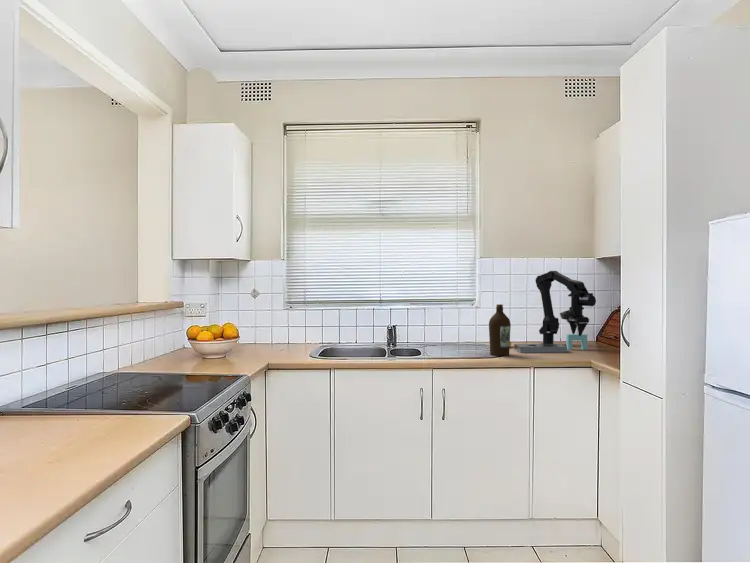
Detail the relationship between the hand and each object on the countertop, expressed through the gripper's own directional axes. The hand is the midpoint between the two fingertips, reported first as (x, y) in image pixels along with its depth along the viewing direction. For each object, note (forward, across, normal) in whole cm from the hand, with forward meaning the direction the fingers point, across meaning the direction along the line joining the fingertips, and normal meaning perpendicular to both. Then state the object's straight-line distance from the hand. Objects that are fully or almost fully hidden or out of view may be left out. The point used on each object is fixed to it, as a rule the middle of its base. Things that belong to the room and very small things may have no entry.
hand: (576, 334), depth 299 cm
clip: (+8, 0, 0) cm, 8 cm away
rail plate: (+8, +5, -21) cm, 23 cm away
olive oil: (+8, +17, -45) cm, 49 cm away
